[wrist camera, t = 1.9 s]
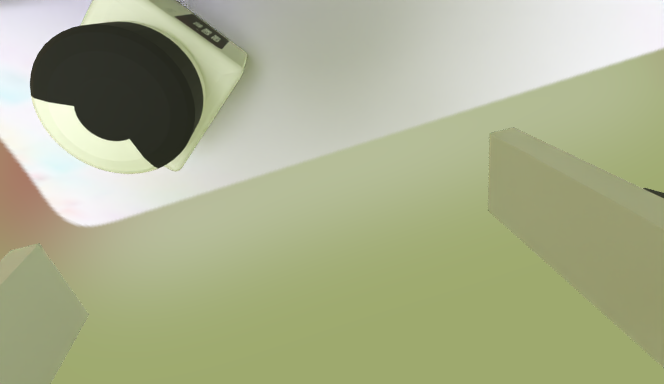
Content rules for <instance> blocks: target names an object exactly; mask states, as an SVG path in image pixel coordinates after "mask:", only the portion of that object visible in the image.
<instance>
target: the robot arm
mask: <svg viewBox="0 0 664 384" xmlns="http://www.w3.org/2000/svg"><path fill="white" fill-rule="evenodd" d="M488 211H489V212H490V213H491V214H492V215H493V216H495V217H496V218H497V219H498V220H499V221H500V222H501V223H502V224H503V225H505V226H506V227H507V228H508V229H509V230H510V231H511V232H512V233H513V234H515V235H516V236H517V237H518V238H519V239H520V240H521V241H522V242H523V243H525V244H526V245H527V246H528V247H529V248H530V249H531V250H532V251H534V252H535V253H536V254H537V255H538V256H539V257H540V258H541V259H542V260H544V261H545V262H546V263H547V264H548V265H549V266H550V267H552V269H554V270H555V271H556V272H557V273H558V274H559V275H560V276H561V277H563V278H564V279H565V280H566V281H567V282H568V283H569V284H570V285H571V286H573V287H574V288H575V289H576V290H577V291H578V292H579V293H580V294H582V295H583V296H584V297H585V298H586V299H587V300H588V301H589V302H591V303H592V304H593V305H594V306H595V307H596V308H597V309H598V310H600V311H601V312H602V313H603V314H604V315H605V316H606V317H607V318H608V319H610V320H611V321H612V322H613V323H614V324H615V325H616V326H617V327H618V328H620V329H621V330H622V331H623V332H624V333H625V334H626V335H627V336H629V337H630V338H631V339H632V340H633V341H634V342H635V343H636V344H637V345H639V346H640V347H641V348H642V349H643V350H644V351H645V352H646V353H647V354H649V355H650V356H651V357H652V358H653V359H654V360H655V361H656V362H658V363H659V364H660V365H661V366H662V367H663V368H664V193H662V192H658V191H654V190H651V189H647V188H643V189H642V188H641V187H638V186H636V185H634V184H632V183H630V182H628V181H626V180H624V179H621V178H620V177H617V176H615V175H613V174H611V173H609V172H607V171H605V170H603V169H601V168H598V167H596V166H594V165H592V164H590V163H588V162H586V161H583V160H581V159H579V158H577V157H575V156H573V155H571V154H569V153H567V152H565V151H563V150H560V149H558V148H556V147H554V146H552V145H550V144H548V143H546V142H544V141H542V140H539V139H537V138H535V137H533V136H531V135H529V134H527V133H525V132H523V131H521V130H518V129H516V128H514V127H513V128H508V129H505V130H500V131H497V132H492V133H490V140H489V188H488ZM88 315H89V314H88V312H87V311H86V309H85V308H84V307H83V305H82V304H81V302H80V301H79V299H78V298H77V297H76V295H75V294H74V292H73V291H72V289H71V288H70V287H69V285H68V284H67V282H66V281H65V279H64V278H63V276H62V275H61V274H60V272H59V271H58V269H57V268H56V266H55V265H54V264H53V262H52V261H51V259H50V258H49V256H48V255H47V254H46V252H45V251H44V249H43V248H42V246H41V245H40V244H35V245H31V246H27V247H22V248H19V249H14V250H11V251H10V252H9V253H8V254H7V255H6V256H4V257H3V259H2V260H0V384H51V382H52V380H53V378H54V377H55V375H56V373H57V371H58V369H59V368H60V366H61V364H62V362H63V360H64V359H65V357H66V355H67V353H68V351H69V350H70V348H71V346H72V344H73V342H74V341H75V339H76V337H77V335H78V333H79V332H80V330H81V328H82V326H83V324H84V323H85V321H86V319H87V317H88Z"/></svg>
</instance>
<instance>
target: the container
mask: <svg viewBox="0 0 664 384" xmlns="http://www.w3.org/2000/svg"><path fill="white" fill-rule="evenodd" d="M246 60H247V53H246V52H245V51H244V50H242V49H241V48H240V47H238V46H237V45H236V44H234V43H233V42H231V41H230V40H229V39H227V38H226V37H225V36H223V35H222V34H221V33H219V32H218V31H217V30H215V29H214V28H212V27H211V26H210V25H208V24H207V23H206V22H204V21H203V20H202V19H200V18H199V17H198V16H196V15H195V14H193V13H192V12H191V11H189V10H188V9H187V8H185V7H184V6H183V5H181V4H180V3H178V2H177V1H176V0H93V1H92V3H91V5H90V7H89V9H88V11H87V13H86V15H85V17H84V19H83V21H82V23H81V25H80V26H77V27H73V28H70V29H68V30H65V31H63V32H61V33H59V34H58V35H56V36H55V37H53V38H52V39H50V40H49V41H48V42H47V43H46V44H45V45H44V46H43V48H42V49H41V50H40V52H39V53H38V55H37V57H36V59H35V61H34V63H33V67H32V71H31V78H30V89H31V97H32V101H33V105H34V108H35V110H36V113H37V115H38V117H39V119H40V121H41V123H42V124H43V126H44V128H45V129H46V130H47V132H48V133H49V134H50V136H51V137H52V138H53V139H54V140H55V141H56V142H57V143H58V144H59V145H60V146H61V147H62V148H63V149H65V150H66V151H67V152H68V153H70V154H71V155H73V156H74V157H76V158H77V159H79V160H81V161H83V162H84V163H86V164H88V165H91V166H93V167H96V168H98V169H102V170H105V171H109V172H115V173H124V174H135V173H144V172H149V171H152V170H155V169H158V168H160V167H162V166H165V167H167V168H168V169H170V170H172V171H179V170H180V169H181V168H182V167H183V165H184V164H185V162H186V161H187V159H188V158H189V156H190V155H191V153H192V151H193V150H194V148H195V147H196V145H197V144H198V142H199V141H200V139H201V138H202V136H203V135H204V133H205V132H206V130H207V128H208V127H209V125H210V124H211V122H212V121H213V119H214V118H215V116H216V115H217V113H218V112H219V110H220V108H221V107H222V105H223V104H224V102H225V101H226V99H227V98H228V96H229V95H230V93H231V92H232V90H233V89H234V87H235V85H236V84H237V82H238V81H239V79H240V78H241V76H242V74H243V70H244V67H245V63H246Z"/></svg>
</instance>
